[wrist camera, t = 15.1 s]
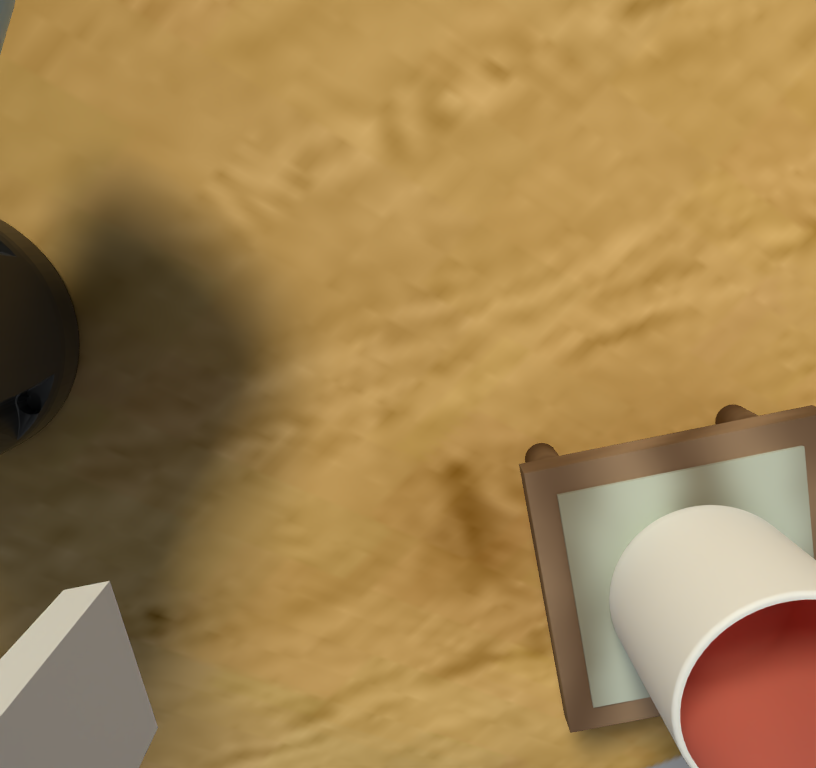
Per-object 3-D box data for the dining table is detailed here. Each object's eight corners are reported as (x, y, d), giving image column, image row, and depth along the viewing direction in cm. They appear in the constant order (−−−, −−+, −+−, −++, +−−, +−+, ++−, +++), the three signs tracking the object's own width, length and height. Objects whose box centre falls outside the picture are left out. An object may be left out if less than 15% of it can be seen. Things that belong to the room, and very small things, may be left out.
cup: (700, 458, 37) (810, 543, 27) (824, 577, 38) (970, 696, 29) (564, 588, 38) (621, 713, 28) (688, 697, 40) (783, 850, 30)
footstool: (545, 659, 47) (571, 735, 40) (504, 434, 44) (524, 474, 37) (783, 613, 47) (851, 682, 40) (760, 382, 43) (831, 413, 36)
